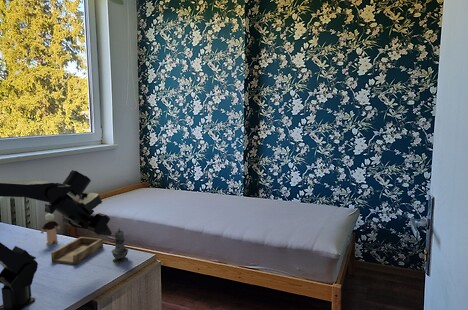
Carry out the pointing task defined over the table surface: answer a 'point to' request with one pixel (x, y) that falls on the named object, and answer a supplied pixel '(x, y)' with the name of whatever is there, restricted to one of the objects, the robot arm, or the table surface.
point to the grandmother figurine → (50, 229)
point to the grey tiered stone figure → (119, 248)
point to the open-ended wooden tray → (77, 250)
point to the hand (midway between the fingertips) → (102, 231)
